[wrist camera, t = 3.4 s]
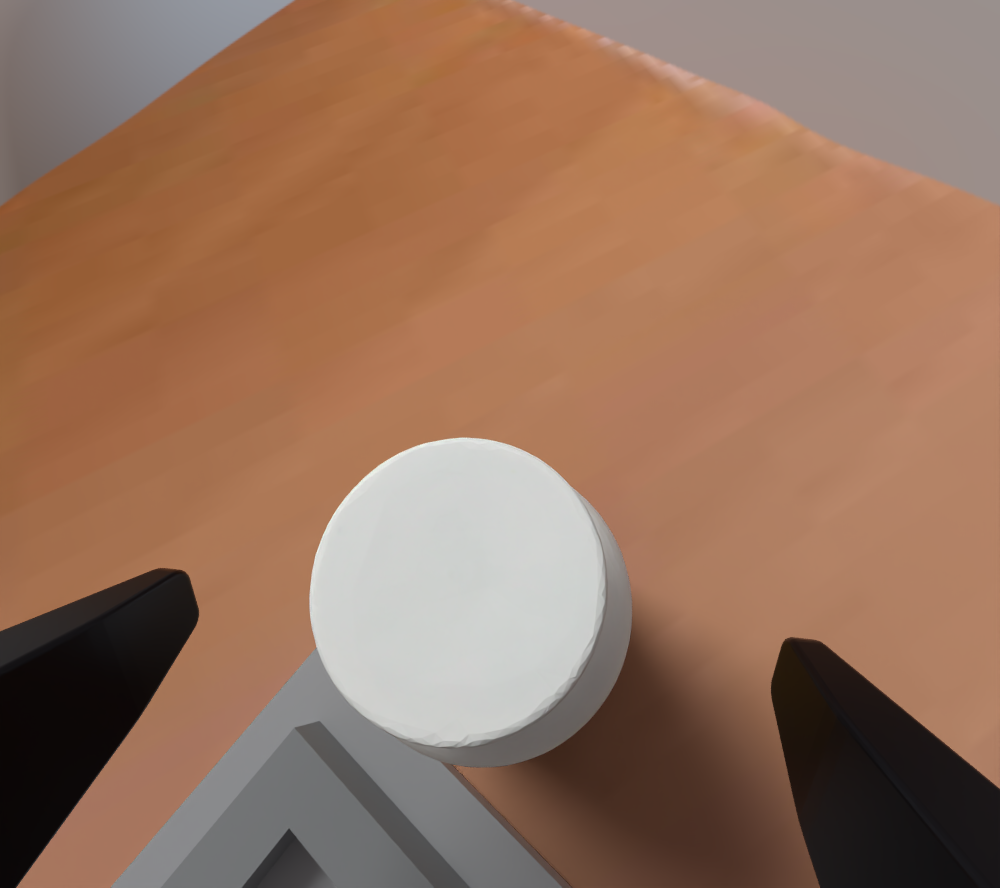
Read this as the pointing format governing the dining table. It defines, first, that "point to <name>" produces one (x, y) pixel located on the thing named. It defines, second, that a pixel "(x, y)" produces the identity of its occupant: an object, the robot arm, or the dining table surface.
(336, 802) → the tray
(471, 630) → the supplement bottle
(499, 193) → the dining table surface
